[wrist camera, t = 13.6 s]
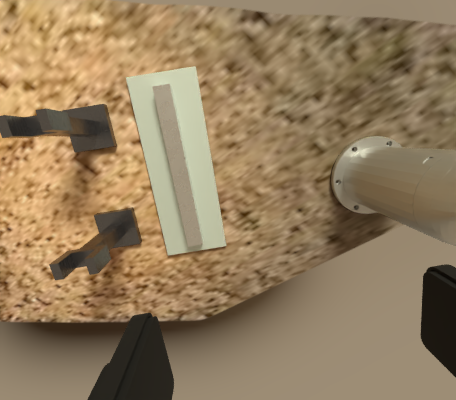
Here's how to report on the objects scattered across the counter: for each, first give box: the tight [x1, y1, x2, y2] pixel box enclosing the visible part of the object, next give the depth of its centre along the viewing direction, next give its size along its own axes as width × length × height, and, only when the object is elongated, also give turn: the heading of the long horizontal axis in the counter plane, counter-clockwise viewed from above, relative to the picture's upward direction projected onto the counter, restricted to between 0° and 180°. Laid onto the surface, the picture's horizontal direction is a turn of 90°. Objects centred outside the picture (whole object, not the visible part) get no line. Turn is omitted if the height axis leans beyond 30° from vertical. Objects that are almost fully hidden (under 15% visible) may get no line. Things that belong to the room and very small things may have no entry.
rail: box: [152, 84, 204, 247], centre depth 37 cm, size 2×24×2 cm, turn 9°
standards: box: [0, 104, 142, 280], centre depth 33 cm, size 6×22×14 cm, turn 9°
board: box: [126, 66, 226, 255], centre depth 39 cm, size 10×28×1 cm, turn 9°
